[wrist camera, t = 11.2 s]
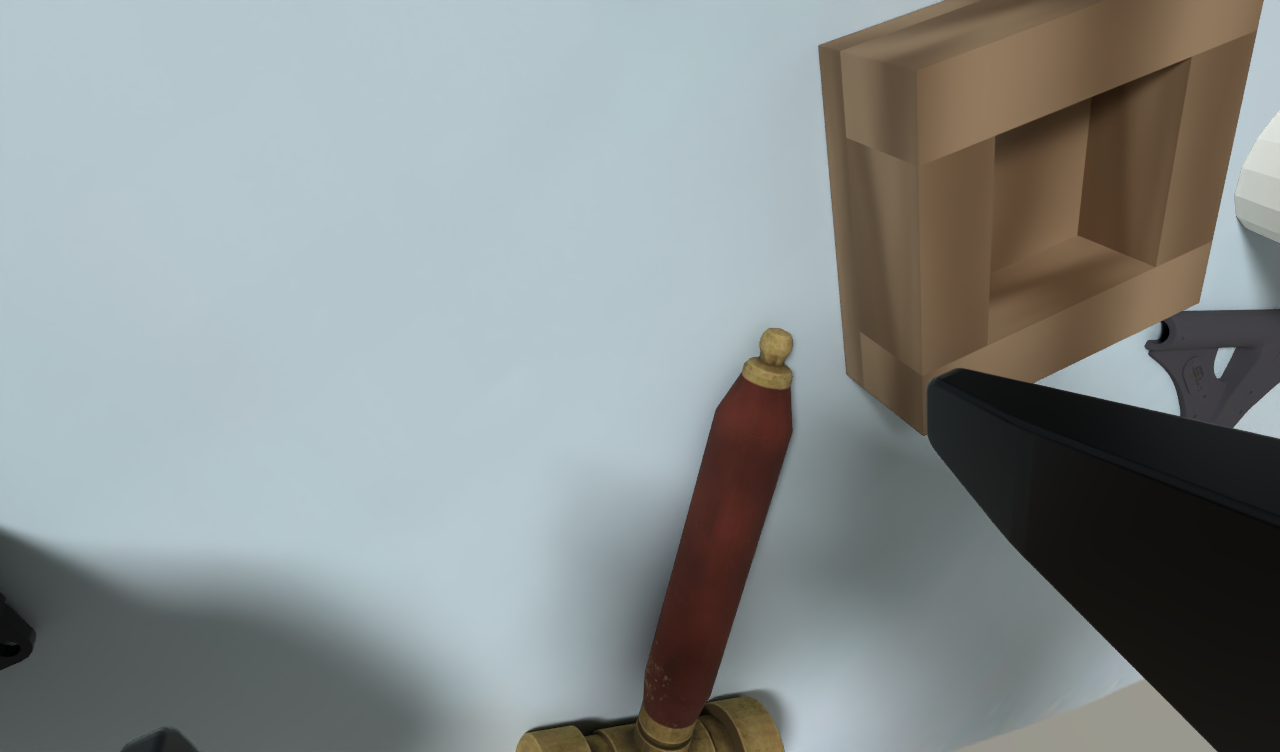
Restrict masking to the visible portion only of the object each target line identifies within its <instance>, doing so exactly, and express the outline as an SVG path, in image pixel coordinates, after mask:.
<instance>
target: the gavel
mask: <svg viewBox="0 0 1280 752" xmlns="http://www.w3.org/2000/svg"><path fill="white" fill-rule="evenodd" d="M792 345H793V340H792V337H791V334H790V333H788V332H786V331H784V330H782V329H779V328H769V329H767V330H766V331H765V332H764V333H763V335H762V337H761V340H760V350H761V353H760V356H759V357H753V358H750V359H749V360H748V361H746V362H745V364H744V367H743V370H742V373H741V374H740V376H739V377H738V378H737V380H736V381H735V383H734V384H733V386H732V387H731V388H730V390H729V391H728V393H727V394H726V396H725V397H724V398H723V400H722V401H721V403H720V404H719V406H718V407H717V409H716V411H715V415H714V418H713V422H712V426H711V429H710V433H709V437H708V440H707V444H706V448H705V451H704V455H703V459H702V463H701V466H700V470H699V474H698V477H697V481H696V485H695V488H694V492H693V496H692V500H691V503H690V507H689V511H688V514H687V518H686V522H685V525H684V529H683V533H682V537H681V540H680V544H679V548H678V551H677V555H676V559H675V562H674V566H673V570H672V574H671V577H670V581H669V585H668V588H667V592H666V596H665V599H664V603H663V607H662V611H661V614H660V618H659V622H658V625H657V629H656V633H655V636H654V640H653V644H652V647H651V651H650V655H649V659H648V662H647V666H646V670H645V679H644V696H643V702H642V706H641V709H640V713H639V716H638V718H637V721H636V723H634V724H628V725H622V726H617V727H611V728H605V729H599V730H595V731H594V732H592V733H591V735H590V736H585V737H584V736H583V734H582V733H581V731H580V730H579V729H577V728H576V727H575V726H571V725H570V726H565V727H559V728H553V729H547V730H541V731H535V732H529V733H525V734H524V735H523V736H522V738H521V739H520V741H519V743H518V744H517V748H516V752H785V751H784V747H783V743H782V740H781V737H780V734H779V732H778V730H777V727H776V725H775V723H774V721H773V720H772V718H771V716H770V715H769V713H768V712H767V710H766V709H765V708H764V707H763V706H762V705H761V704H760V703H759V702H758V701H757V700H755V699H753V698H751V697H746V696H743V697H737V698H731V699H725V700H719V701H713V702H708V703H706V702H707V700H708V699H709V697H710V695H711V692H712V689H713V685H714V682H715V679H716V676H717V673H718V669H719V666H720V663H721V660H722V656H723V653H724V650H725V647H726V644H727V640H728V637H729V634H730V631H731V627H732V624H733V621H734V618H735V615H736V611H737V608H738V605H739V602H740V599H741V595H742V592H743V589H744V586H745V582H746V579H747V576H748V573H749V570H750V566H751V563H752V560H753V557H754V554H755V550H756V547H757V544H758V541H759V537H760V534H761V531H762V528H763V525H764V521H765V518H766V515H767V512H768V509H769V505H770V502H771V499H772V496H773V492H774V489H775V486H776V483H777V480H778V476H779V473H780V470H781V467H782V463H783V460H784V457H785V454H786V451H787V447H788V444H789V441H790V438H791V435H792V411H791V391H790V384H791V381H792V378H793V376H792V372H791V370H790V368H789V367H787V366H786V365H785V364H784V360H785V358H786V357H787V356H788V355H789V354H790V352H791V349H792Z"/></svg>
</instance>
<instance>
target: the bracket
mask: <svg viewBox="0 0 1280 752" xmlns="http://www.w3.org/2000/svg"><path fill="white" fill-rule="evenodd" d="M1163 321H1164V322H1166V323H1167V325H1168V327H1169V330H1170V333H1169V337H1168V338H1167V339H1161V340H1148V341H1147V342H1146V344H1145V347H1146V348H1148V349H1150V350H1149V353H1148V354H1149V355H1150V356H1151V357H1152V358H1153V359H1155V360H1156V361H1157V362H1158V363H1159V364H1160V365H1162V366H1163V368H1164V369H1165V370H1166V371H1167V372H1168V374H1169V375H1170V377H1171V379H1172V381H1173V383H1174V385H1175V388H1176V391H1177V395H1178V399H1179V404H1180V408H1181V417H1185V418H1189V419H1194V420H1198V421H1203V422H1207V423H1212V424H1216V425H1221V426H1225V427H1229V428H1233V427H1234V426H1235V425H1236V424H1237V423H1238V421H1239V420H1240V419H1241V418H1242V417H1243V416H1244V414H1245V413H1246V412H1247V411H1248V410H1249V409H1250V408H1251V407H1252V406H1253V405H1255V404H1256V403H1257V402H1258V401H1259V400H1260V399H1261V398H1262V397H1263V396H1264V395H1266V394H1267V393H1268V392H1269V391H1270V390H1271V389H1272V388H1274V387H1275V386H1276V385H1277V384H1278V383H1280V309H1273V310H1215V311H1181V312H1179V313H1177V314H1175V315H1173V316H1171V317H1169V318H1167V319H1165V320H1163ZM1221 347H1236V349H1235V351H1234V353H1233V355H1232V357H1231V359H1230V361H1229V363H1228V365H1227V367H1226V369H1225V371H1224V373H1223V375H1222V376H1221V378H1219V379H1217V378H1216V376H1215V374H1214V361H1215V357H1216V354H1217V351H1218V348H1221Z"/></svg>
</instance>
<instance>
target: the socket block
mask: <svg viewBox="0 0 1280 752" xmlns="http://www.w3.org/2000/svg"><path fill="white" fill-rule="evenodd" d="M1263 1H1264V0H945V1H942V2H939V3H937V4H934V5H931V6H928V7H925V8H922V9H920V10H917V11H914V12H911V13H908V14H906V15H903V16H900V17H897V18H894V19H892V20H889V21H886V22H883V23H880V24H878V25H875V26H872V27H869V28H866V29H863V30H861V31H858V32H855V33H852V34H849V35H847V36H844V37H841V38H838V39H835V40H833V41H830V42H827V43H824V44H821V45H819V58H820V70H821V81H822V93H823V105H824V116H825V128H826V140H827V151H828V163H829V175H830V186H831V198H832V210H833V221H834V233H835V245H836V256H837V268H838V280H839V291H840V303H841V315H842V326H843V338H844V350H845V361H846V373H847V375H848V376H849V377H850V378H852V379H853V380H854V381H855V382H857V383H858V384H859V385H860V386H862V387H863V388H864V389H865V390H867V391H868V392H869V393H870V394H872V395H873V396H874V397H875V398H877V399H878V400H879V401H880V402H882V403H883V404H884V405H885V406H887V407H888V408H889V409H890V410H891V411H893V412H894V413H895V414H896V415H898V416H899V417H900V418H901V419H903V420H904V421H905V422H906V423H908V424H909V425H910V426H911V427H913V428H914V429H915V430H916V431H918V432H919V433H920V434H921V435H923V436H925V435H927V415H926V388H927V385H928V383H929V381H930V380H931V379H933V378H935V377H937V376H939V375H941V374H944V373H946V372H948V371H950V370H952V369H956V368H965V369H970V370H975V371H979V372H984V373H988V374H992V375H997V376H1001V377H1006V378H1010V379H1015V380H1019V381H1024V382H1028V383H1034V382H1036V381H1038V380H1041V379H1043V378H1045V377H1047V376H1049V375H1051V374H1053V373H1055V372H1057V371H1059V370H1061V369H1063V368H1065V367H1067V366H1069V365H1072V364H1074V363H1076V362H1078V361H1080V360H1082V359H1084V358H1086V357H1088V356H1090V355H1092V354H1094V353H1096V352H1098V351H1100V350H1103V349H1105V348H1107V347H1109V346H1111V345H1113V344H1115V343H1117V342H1119V341H1121V340H1123V339H1125V338H1127V337H1129V336H1131V335H1134V334H1136V333H1138V332H1140V331H1142V330H1144V329H1146V328H1148V327H1150V326H1152V325H1154V324H1156V323H1158V322H1160V321H1162V320H1165V319H1167V318H1169V317H1171V316H1173V315H1175V314H1177V313H1179V312H1181V311H1183V310H1185V309H1187V308H1189V307H1191V306H1193V305H1196V304H1198V303H1199V301H1200V296H1201V292H1202V287H1203V282H1204V277H1205V273H1206V268H1207V263H1208V259H1209V254H1210V249H1211V245H1212V240H1213V235H1214V231H1215V226H1216V221H1217V217H1218V212H1219V207H1220V202H1221V198H1222V193H1223V188H1224V184H1225V179H1226V174H1227V170H1228V165H1229V160H1230V156H1231V151H1232V146H1233V141H1234V137H1235V132H1236V127H1237V123H1238V118H1239V113H1240V109H1241V104H1242V99H1243V95H1244V90H1245V85H1246V80H1247V76H1248V71H1249V66H1250V62H1251V57H1252V52H1253V48H1254V43H1255V38H1256V34H1257V29H1258V24H1259V19H1260V15H1261V10H1262V5H1263Z"/></svg>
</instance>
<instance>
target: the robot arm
mask: <svg viewBox="0 0 1280 752" xmlns="http://www.w3.org/2000/svg"><path fill="white" fill-rule="evenodd" d="M926 415H927V434H928V438H929V441H930V443H931V445H932V447H933V448H934V450H935V451H936V452H937V454H938V455H939V456H940V457H941V459H942V460H943V461H944V462H945V464H946V465H947V466H948V467H949V468H950V470H951V471H952V472H953V473H954V475H955V476H956V477H957V478H958V480H959V481H960V482H961V483H962V485H963V486H964V487H965V488H966V490H967V491H968V492H969V493H970V495H971V496H972V497H973V498H974V500H975V501H976V502H977V503H978V505H979V506H980V507H981V508H982V509H983V511H984V512H985V513H986V514H987V516H988V517H989V518H990V519H991V521H992V522H993V523H994V524H995V526H996V527H997V528H998V529H999V530H1000V532H1001V533H1002V534H1003V535H1004V536H1005V537H1006V539H1007V540H1008V541H1009V542H1010V543H1011V544H1012V545H1013V546H1014V547H1015V548H1016V549H1017V550H1018V552H1019V553H1020V554H1021V555H1022V556H1023V557H1024V558H1025V559H1026V560H1027V561H1028V562H1029V563H1030V564H1031V565H1032V566H1033V567H1034V568H1035V569H1036V570H1037V571H1038V572H1039V573H1040V574H1041V575H1042V576H1043V577H1044V578H1045V579H1046V580H1047V581H1048V582H1049V583H1050V584H1051V585H1052V586H1053V587H1054V588H1055V589H1056V590H1057V591H1058V592H1059V593H1060V594H1061V595H1062V596H1063V597H1064V598H1065V599H1066V600H1067V601H1068V602H1069V603H1070V604H1071V605H1072V606H1073V607H1074V608H1075V609H1076V610H1077V611H1078V612H1079V613H1080V614H1081V615H1082V616H1083V617H1084V618H1085V619H1086V620H1087V621H1088V622H1089V623H1090V624H1091V625H1092V626H1093V627H1094V628H1095V629H1096V630H1097V631H1098V632H1099V633H1100V634H1101V635H1102V636H1103V637H1104V638H1105V639H1106V640H1107V641H1108V642H1109V643H1110V644H1111V645H1112V646H1113V647H1114V648H1115V649H1116V650H1117V651H1118V652H1119V653H1120V654H1121V655H1122V656H1123V657H1124V658H1125V659H1126V660H1127V661H1128V662H1129V663H1130V664H1131V665H1132V666H1133V667H1134V668H1135V669H1136V670H1137V671H1138V672H1139V673H1140V674H1141V675H1142V676H1143V677H1144V678H1145V679H1146V680H1147V681H1148V682H1149V683H1150V684H1151V685H1152V686H1153V687H1154V688H1155V689H1156V690H1157V691H1158V692H1159V693H1160V694H1161V695H1162V696H1163V697H1164V698H1165V699H1166V700H1167V701H1168V702H1169V703H1170V704H1171V705H1172V706H1173V707H1174V708H1175V709H1176V710H1177V711H1178V712H1179V713H1180V714H1181V715H1182V716H1183V718H1185V720H1186V721H1188V722H1189V723H1190V725H1191V726H1192V727H1193V728H1195V730H1196V731H1198V733H1199V734H1200V735H1201V736H1202V737H1204V739H1206V740H1207V742H1208V743H1209V744H1210V745H1211V746H1212V747H1213V748H1214V749H1215V750H1216V751H1217V752H1280V439H1279V438H1274V437H1270V436H1265V435H1261V434H1256V433H1252V432H1247V431H1243V430H1238V429H1234V428H1229V427H1225V426H1221V425H1216V424H1212V423H1207V422H1203V421H1198V420H1194V419H1189V418H1185V417H1180V416H1176V415H1171V414H1167V413H1162V412H1158V411H1153V410H1149V409H1144V408H1140V407H1136V406H1131V405H1127V404H1122V403H1118V402H1113V401H1109V400H1104V399H1100V398H1095V397H1091V396H1086V395H1082V394H1077V393H1073V392H1068V391H1064V390H1060V389H1055V388H1051V387H1046V386H1042V385H1037V384H1033V383H1028V382H1024V381H1019V380H1015V379H1010V378H1006V377H1001V376H997V375H992V374H988V373H984V372H979V371H975V370H970V369H965V368H956V369H952V370H950V371H948V372H946V373H944V374H941V375H939V376H937V377H935V378H933V379H931V380H930V381H929V383H928V385H927V388H926ZM5 600H6V599H5V597H4V595H3V594H2V593H1V592H0V670H2V669H5V668H7V667H9V666H12V665H14V664H16V663H18V662H21V661H22V660H24V659H26V658H27V657H29V655H30V654H31V652H32V651H33V647H34V644H35V640H36V633H35V632H34V630H33V629H32V628H31V627H30V626H29V625H28V624H27V623H26V622H25V621H24V620H23V619H22V618H21V617H20V616H19V615H18V614H17V613H16V612H15V611H14V610H13V609H12V608H11V607H10V606H8V605H7V604H6V603H5ZM4 642H15V643H17V644H16V645H5V644H3V643H4ZM121 752H200V751H199V750H198V749H197V748H196V747H195V746H194V745H193V744H192V743H191V742H190V741H189V740H188V739H187V738H186V737H185V736H184V735H183V734H182V733H181V732H180V731H179V730H177V729H176V728H174V727H171V726H166V727H162V728H159V729H157V730H155V731H153V732H150V733H148V734H146V735H144V736H142V737H139V738H137V739H135V740H133V741H131V742H130V743H128V744H127V745H126V746H125V747H124V748H123V749H122V750H121Z"/></svg>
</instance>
